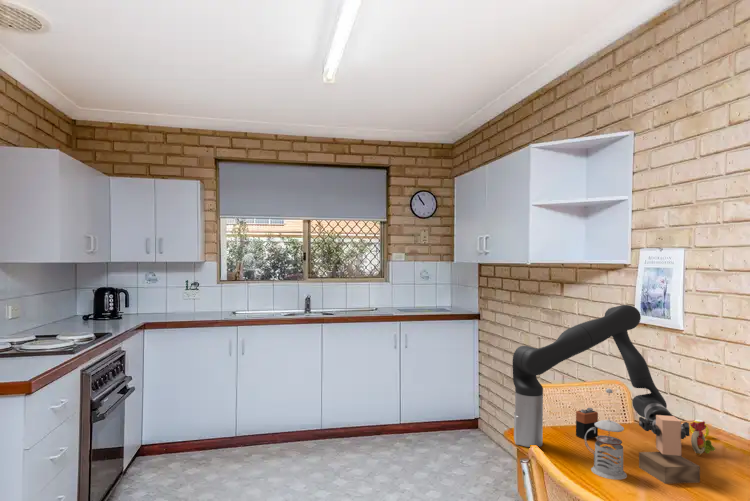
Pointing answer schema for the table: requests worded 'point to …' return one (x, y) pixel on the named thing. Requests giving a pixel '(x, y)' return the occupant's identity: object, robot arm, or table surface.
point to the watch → (705, 428)
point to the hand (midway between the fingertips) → (670, 434)
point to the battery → (586, 423)
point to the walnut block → (669, 468)
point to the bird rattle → (700, 439)
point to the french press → (608, 450)
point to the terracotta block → (668, 435)
